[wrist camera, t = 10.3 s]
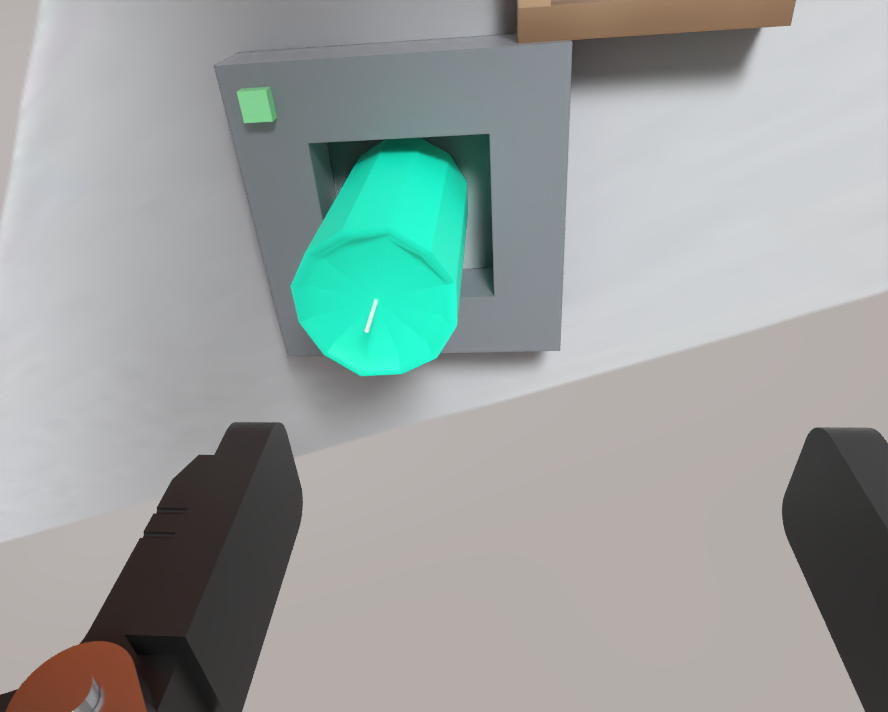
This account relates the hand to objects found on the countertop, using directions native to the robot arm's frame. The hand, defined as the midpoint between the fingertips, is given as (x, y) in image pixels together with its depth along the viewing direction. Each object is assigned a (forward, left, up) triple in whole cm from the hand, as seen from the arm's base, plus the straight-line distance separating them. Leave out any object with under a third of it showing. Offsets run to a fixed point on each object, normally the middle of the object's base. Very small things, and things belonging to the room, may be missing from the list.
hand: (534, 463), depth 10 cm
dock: (+4, -5, -22) cm, 23 cm away
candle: (+4, -5, -22) cm, 23 cm away
